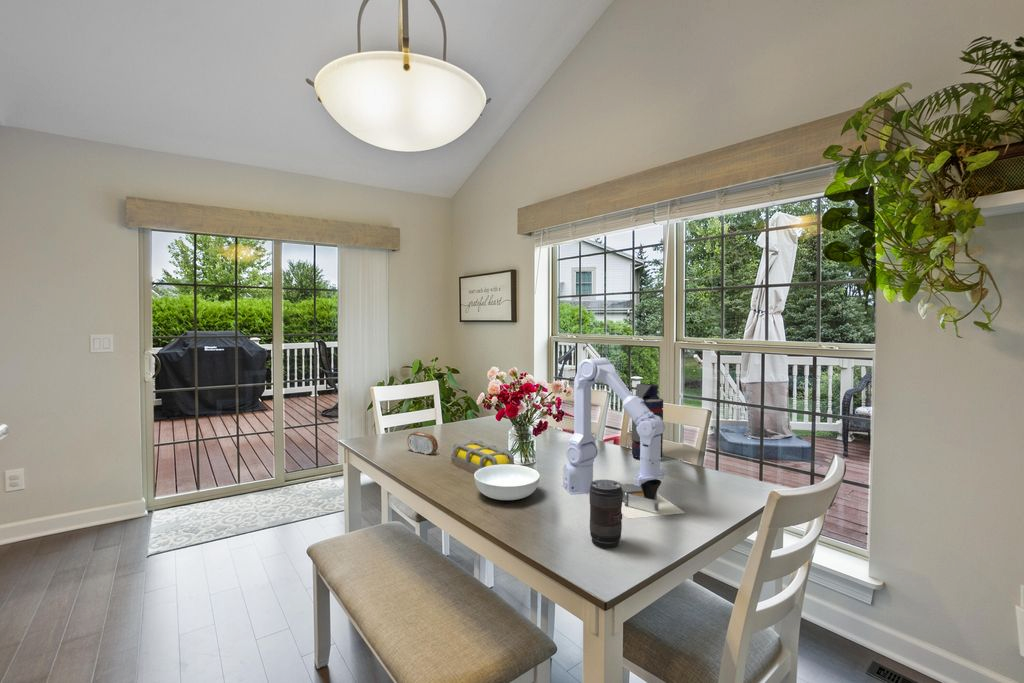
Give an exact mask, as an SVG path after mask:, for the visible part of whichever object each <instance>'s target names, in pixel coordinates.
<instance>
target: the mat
mask: <svg viewBox="0 0 1024 683" xmlns="http://www.w3.org/2000/svg"><path fill="white" fill-rule="evenodd" d="M657 500H658V501H659V509H658V514H657V513H653V512H650V511H646V510H642V509H638V508H634V507H630V506H625V504H624V503H622V504H623V505H622V507H621V513H622V515H623V516H625V517H626V519H639V518H641V519H642V518H648V517H649V518H650V517H651V518H652V517H659V516H668V515H677V514H680V515H681V514H686V512H685V511H684V510H682V509H681V508H680V507H678V506H676V505H675V504H673V503H672V502H671V501H669V500H668V499H666V498H664V497H663V496H661V494H659V493H657Z"/></svg>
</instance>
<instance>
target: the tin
mask: <svg viewBox="0 0 1024 683" xmlns="http://www.w3.org/2000/svg"><path fill="white" fill-rule="evenodd" d="M407 447H408V448H409V450H410V451H412V450H413V451H417V452H421V453H426V454H431V455H433V454H435V453H437V451H438V448H439V443H438V440H437V438H436V437H435V436H434V434H430V433H425V432H420V431H415V432H412V433H410V434H409V435H408V437H407ZM413 451H412V452H413ZM421 453H420V454H421Z"/></svg>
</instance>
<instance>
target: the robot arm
mask: <svg viewBox="0 0 1024 683" xmlns="http://www.w3.org/2000/svg"><path fill="white" fill-rule="evenodd" d="M596 382H600V383H604V384H606V385H608V387H609V388H610V389H611V390H612V391H613V392H614V393H615V395H616V396H617V397H618V398H619V399H620V401H622V404H623V405H622V409H623V410H624V411H625V412H626V413H627V415H628V417H630V418H631V421H632V420H633V421H634V422H635V424H636V425H637V427H636V429H637V433H638V434H639V436H640V458H639V472H637V475H636V476H635V477H633V479H632V480H633V481H632V484H633V485H636V486H641V488H642V490H643V493H644V497H646V498H650V499H655V495H656V492H657V493H658V490H659V488H660V486H661V484H662V480H664V478H665V477H664V476H665V475H666V468H664V467H661V459H662V457H661V434H662V433H663V434H664V432H665V429H666V426H665V425H666V424H665V421H664V419H663V420H662V418H661V417H659V416H656V415H654V413H653V412H651V411H650V410H649V409H648V408H647V406H646V405H645V404H644V403H643V402H644V400H643V399H642V398H639V397H638V396H633V395H634V394H633V395H632V391H630V390H629V388H628V387H627V386H626V384H625V383H624V381H623V380H622V378H621V377H620V376H619V374H618V373H617V370H616V368H615V365H614V364H613V363H612V362H611V360H609V359H608V358H607V357H602V356H601V357H598V358H586V359H583V360H581V361H580V362H579V363H578V364H577V371H576V374H575V377H574V380H573V386H574V387H573V401H574V402H573V413H574V414H573V416H574V417H573V418H574V419H573V431H574V432H573V434H572V436H571V437H570V438H569V440H568V447H567V448H566V458H567V460H568V461H569V462H568V463H565V464H563V468H562V486H561V487H562V488H563V489H564V490H565V491H566V492H567V493H568V494H569V495H583V494H590V486H591V482H593V481H594V462H595V459H596V458H597V456H598V454H599V453H598V452H599V451H598V450H599V449H598V446H597V443H596V437H595V436H594V435H593V434H592V386H593V385H594V384H596ZM660 458H661V459H660Z"/></svg>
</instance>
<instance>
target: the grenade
mask: <svg viewBox="0 0 1024 683" xmlns="http://www.w3.org/2000/svg"><path fill="white" fill-rule="evenodd" d="M658 389H659V386H658V385H657V384H650V383H649V384H647V383H637V384H636V386H635V387H633V389H632V390H631V394H632V395H633V396H638V397H639V398H642V399H643V400H644V402H643V403H644V404H645V405H646V406H647V408H648V409H649V410H650V411H651V412H653V413H654V415H656V416H659V417H661V418H662V420H663V421H664V399H663V398H660V396H658ZM634 390H635V394H633V392H634ZM636 427H637V425H636V424H635V422H634V421H633V420H632V419H631V441H632V442H631V455H632V458H633V459H636V458H638V459H640V436H639V434H638V433H637V429H636ZM663 435H664V432H663V433H662V434H661V458H663V440H664V439H663Z"/></svg>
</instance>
